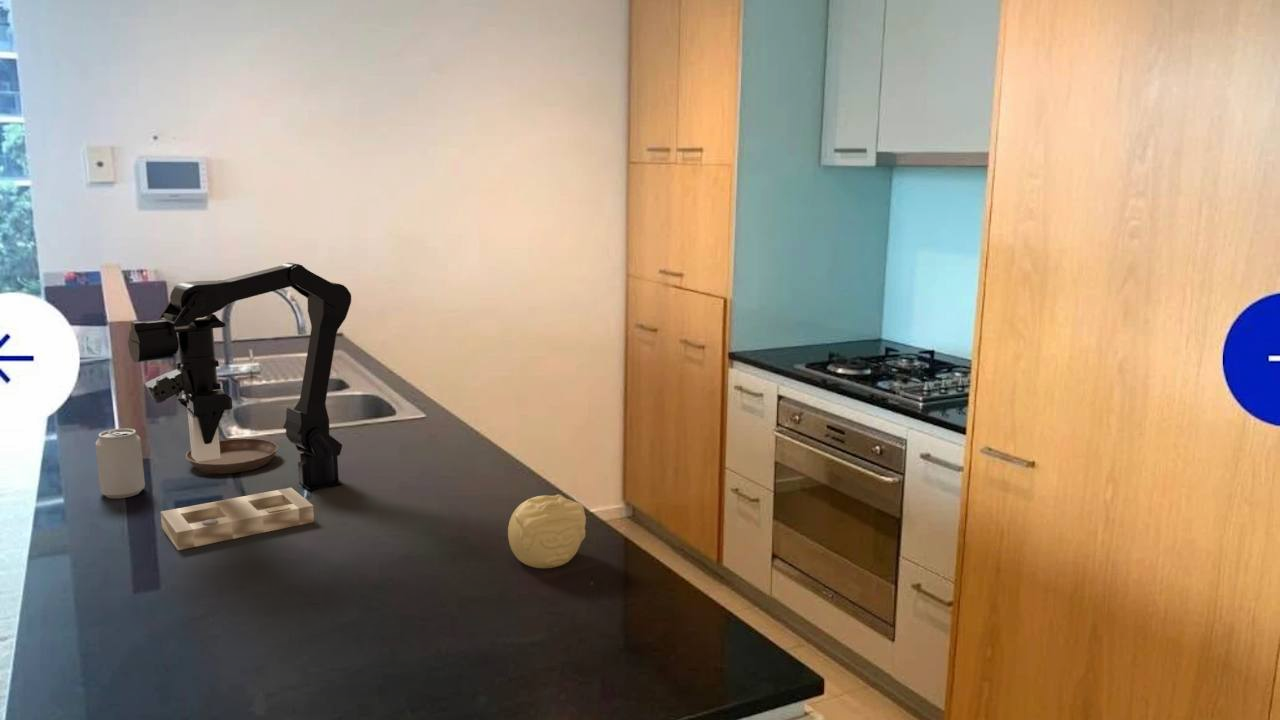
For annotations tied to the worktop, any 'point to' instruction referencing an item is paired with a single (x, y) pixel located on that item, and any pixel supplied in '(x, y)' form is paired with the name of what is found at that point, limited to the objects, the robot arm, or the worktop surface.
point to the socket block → (235, 518)
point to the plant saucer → (237, 456)
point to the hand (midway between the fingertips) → (205, 440)
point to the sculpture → (546, 531)
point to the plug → (198, 446)
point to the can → (120, 463)
